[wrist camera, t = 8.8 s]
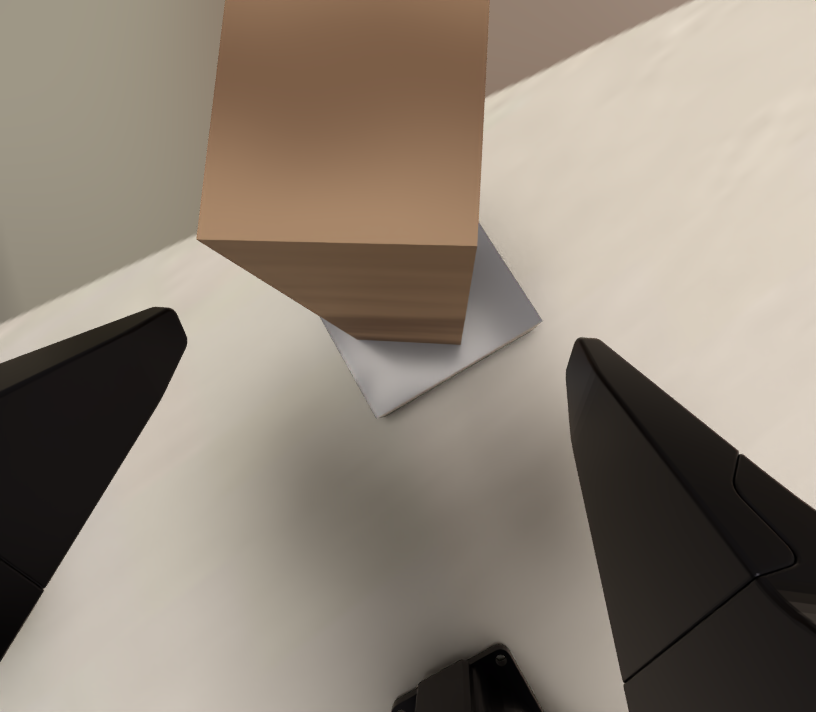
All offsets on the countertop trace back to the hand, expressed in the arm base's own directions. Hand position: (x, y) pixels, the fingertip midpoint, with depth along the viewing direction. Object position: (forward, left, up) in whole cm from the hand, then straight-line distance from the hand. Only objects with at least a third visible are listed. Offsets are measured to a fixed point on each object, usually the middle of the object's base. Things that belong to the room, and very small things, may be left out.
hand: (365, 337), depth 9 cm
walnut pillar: (+3, -2, -10) cm, 11 cm away
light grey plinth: (+3, -2, -13) cm, 13 cm away
